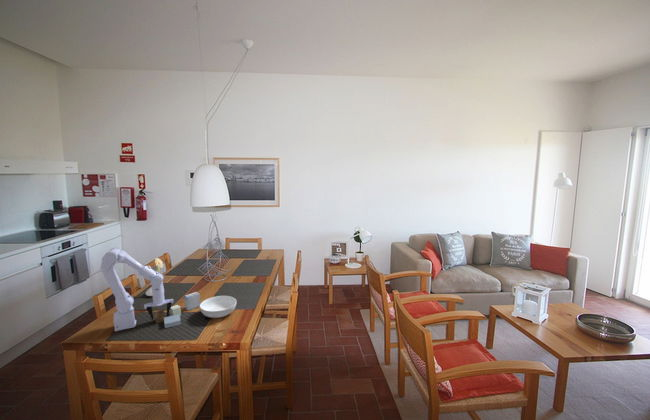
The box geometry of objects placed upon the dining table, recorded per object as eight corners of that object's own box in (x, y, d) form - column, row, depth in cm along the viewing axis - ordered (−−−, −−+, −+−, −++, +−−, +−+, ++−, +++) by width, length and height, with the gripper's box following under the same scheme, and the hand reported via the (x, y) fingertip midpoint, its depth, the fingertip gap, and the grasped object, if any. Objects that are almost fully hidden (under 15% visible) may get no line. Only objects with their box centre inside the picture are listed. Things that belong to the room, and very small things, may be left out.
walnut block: (155, 323, 168) (155, 314, 167) (155, 319, 171) (155, 310, 171) (164, 321, 170) (164, 312, 169) (164, 318, 174) (164, 309, 173)
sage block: (173, 318, 173) (172, 309, 172) (170, 316, 176) (169, 307, 175) (181, 315, 176) (180, 306, 176) (177, 313, 179) (177, 304, 178)
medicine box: (197, 304, 191) (196, 291, 190) (200, 306, 188) (199, 293, 187) (184, 308, 185) (184, 295, 184) (188, 310, 182) (187, 297, 181)
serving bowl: (221, 325, 166) (221, 313, 165) (192, 318, 173) (191, 307, 172) (244, 308, 185) (243, 298, 184) (216, 303, 192) (216, 293, 191)
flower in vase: (154, 298, 198) (151, 262, 195) (141, 296, 202) (138, 261, 198) (170, 291, 210) (167, 257, 207) (157, 289, 214) (155, 255, 210)
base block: (164, 329, 163) (164, 323, 162) (164, 322, 169) (164, 317, 169) (181, 325, 166) (180, 320, 166) (180, 318, 173) (179, 314, 173)
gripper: (143, 300, 161) (145, 323, 163) (173, 294, 168) (174, 317, 170) (143, 295, 167) (145, 317, 169) (172, 290, 174) (174, 311, 176)
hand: (160, 317), depth 170 cm, fingers open, 7 cm apart
